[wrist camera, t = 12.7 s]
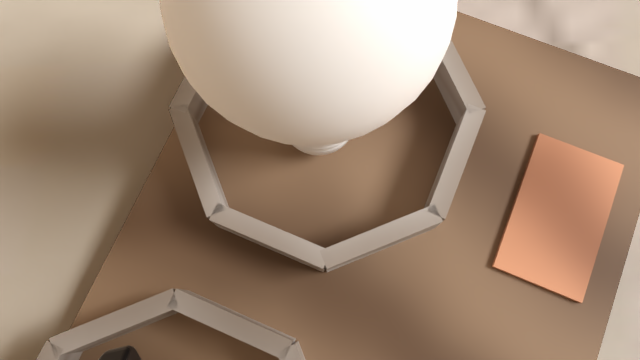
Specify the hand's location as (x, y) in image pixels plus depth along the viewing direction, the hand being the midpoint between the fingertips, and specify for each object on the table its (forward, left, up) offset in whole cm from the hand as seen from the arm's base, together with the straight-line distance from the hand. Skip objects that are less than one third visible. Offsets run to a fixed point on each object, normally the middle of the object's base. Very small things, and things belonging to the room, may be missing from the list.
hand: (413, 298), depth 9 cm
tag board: (-1, +1, -10) cm, 10 cm away
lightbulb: (+5, +4, -9) cm, 11 cm away
